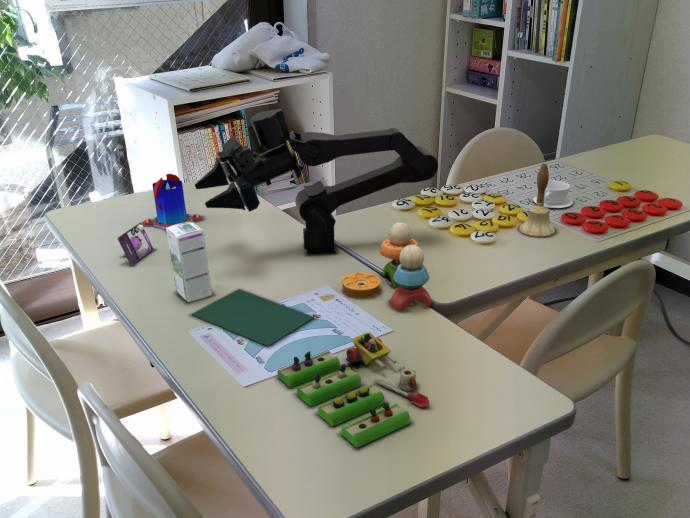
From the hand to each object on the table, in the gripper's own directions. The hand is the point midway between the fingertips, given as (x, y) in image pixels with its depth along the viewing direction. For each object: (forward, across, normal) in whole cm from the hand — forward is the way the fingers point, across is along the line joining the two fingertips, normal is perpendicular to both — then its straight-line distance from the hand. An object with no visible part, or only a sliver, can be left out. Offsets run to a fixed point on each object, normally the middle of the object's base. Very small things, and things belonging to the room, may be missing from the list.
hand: (200, 196), depth 155 cm
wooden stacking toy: (-26, +30, +21) cm, 45 cm away
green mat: (+2, +28, +13) cm, 31 cm away
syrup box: (+10, +14, +12) cm, 21 cm away
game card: (+19, -10, +12) cm, 24 cm away
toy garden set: (-9, +59, +13) cm, 61 cm away
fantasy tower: (+8, -27, +17) cm, 33 cm away
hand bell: (-69, +14, +36) cm, 79 cm away
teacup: (-82, +1, +42) cm, 92 cm away
